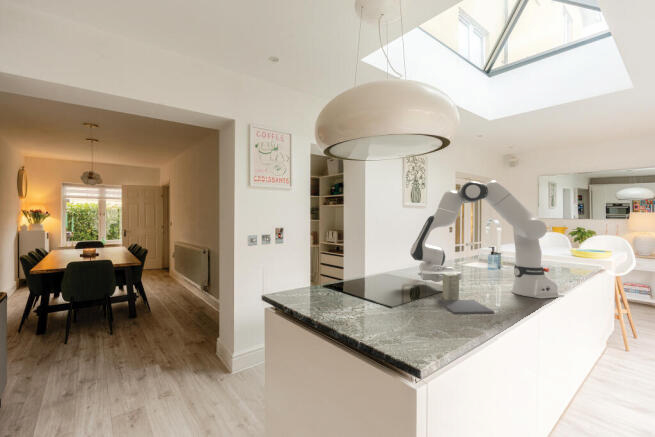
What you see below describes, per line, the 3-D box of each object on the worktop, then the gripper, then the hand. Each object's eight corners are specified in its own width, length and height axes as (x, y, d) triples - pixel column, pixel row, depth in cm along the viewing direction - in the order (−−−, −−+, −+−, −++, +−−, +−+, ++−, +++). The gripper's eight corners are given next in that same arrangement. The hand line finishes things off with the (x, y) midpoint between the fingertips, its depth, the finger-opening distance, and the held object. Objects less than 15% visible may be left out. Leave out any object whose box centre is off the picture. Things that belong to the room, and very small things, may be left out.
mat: (473, 301, 140) (473, 299, 140) (493, 313, 124) (494, 311, 124) (437, 302, 139) (437, 300, 139) (453, 313, 123) (453, 312, 123)
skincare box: (453, 297, 146) (454, 272, 146) (459, 300, 142) (459, 274, 142) (441, 298, 145) (442, 273, 145) (447, 301, 141) (447, 275, 141)
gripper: (416, 267, 161) (426, 272, 147) (454, 266, 161) (467, 272, 148) (416, 279, 161) (426, 285, 147) (454, 278, 162) (467, 284, 148)
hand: (447, 278), depth 147 cm, fingers closed
